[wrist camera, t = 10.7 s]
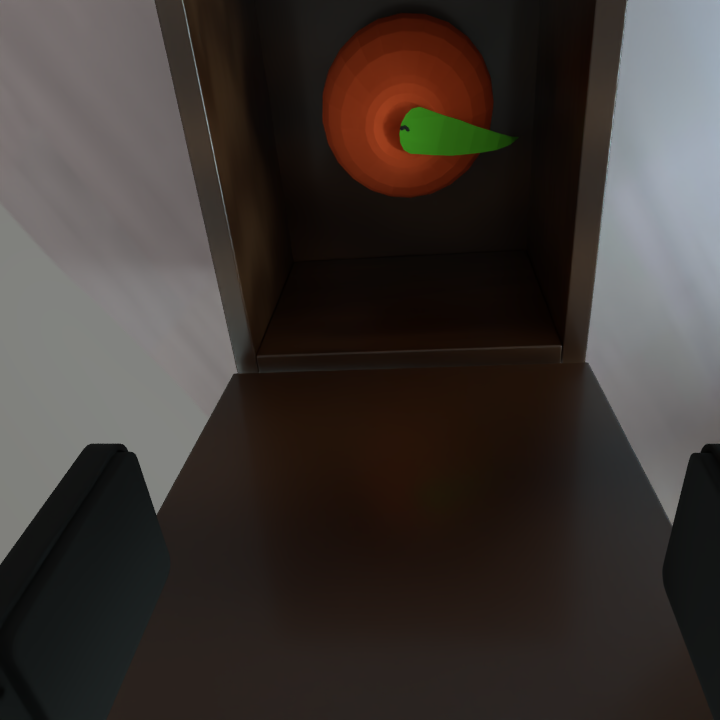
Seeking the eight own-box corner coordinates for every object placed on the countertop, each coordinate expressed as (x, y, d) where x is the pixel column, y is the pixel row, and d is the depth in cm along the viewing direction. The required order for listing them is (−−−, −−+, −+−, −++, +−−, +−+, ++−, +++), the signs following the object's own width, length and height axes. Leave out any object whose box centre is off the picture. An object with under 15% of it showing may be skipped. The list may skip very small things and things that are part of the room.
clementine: (529, 28, 27) (561, 48, 21) (485, 188, 31) (502, 243, 25) (343, -8, 27) (322, 1, 21) (321, 157, 30) (298, 205, 24)
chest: (230, -50, 27) (141, -54, 18) (563, -85, 26) (640, -109, 17) (282, 270, 35) (237, 375, 26) (540, 258, 33) (585, 364, 25)
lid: (13, 774, 12) (87, 911, 14) (820, 807, 10) (756, 954, 12) (233, 372, 26) (252, 473, 28) (588, 361, 24) (578, 469, 26)
